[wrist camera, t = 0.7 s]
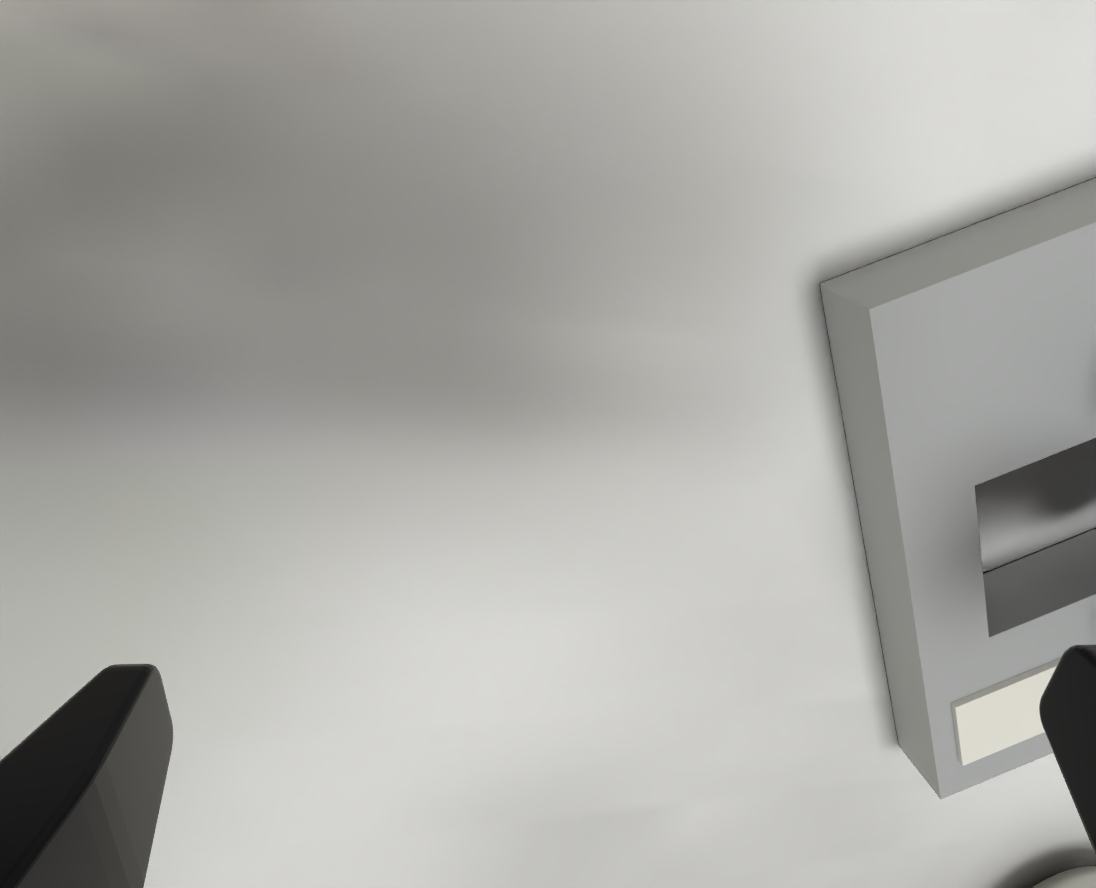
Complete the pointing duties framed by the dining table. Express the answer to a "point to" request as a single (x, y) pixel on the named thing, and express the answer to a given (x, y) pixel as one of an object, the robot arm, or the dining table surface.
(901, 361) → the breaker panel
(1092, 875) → the plastic bottle
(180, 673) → the dining table surface
